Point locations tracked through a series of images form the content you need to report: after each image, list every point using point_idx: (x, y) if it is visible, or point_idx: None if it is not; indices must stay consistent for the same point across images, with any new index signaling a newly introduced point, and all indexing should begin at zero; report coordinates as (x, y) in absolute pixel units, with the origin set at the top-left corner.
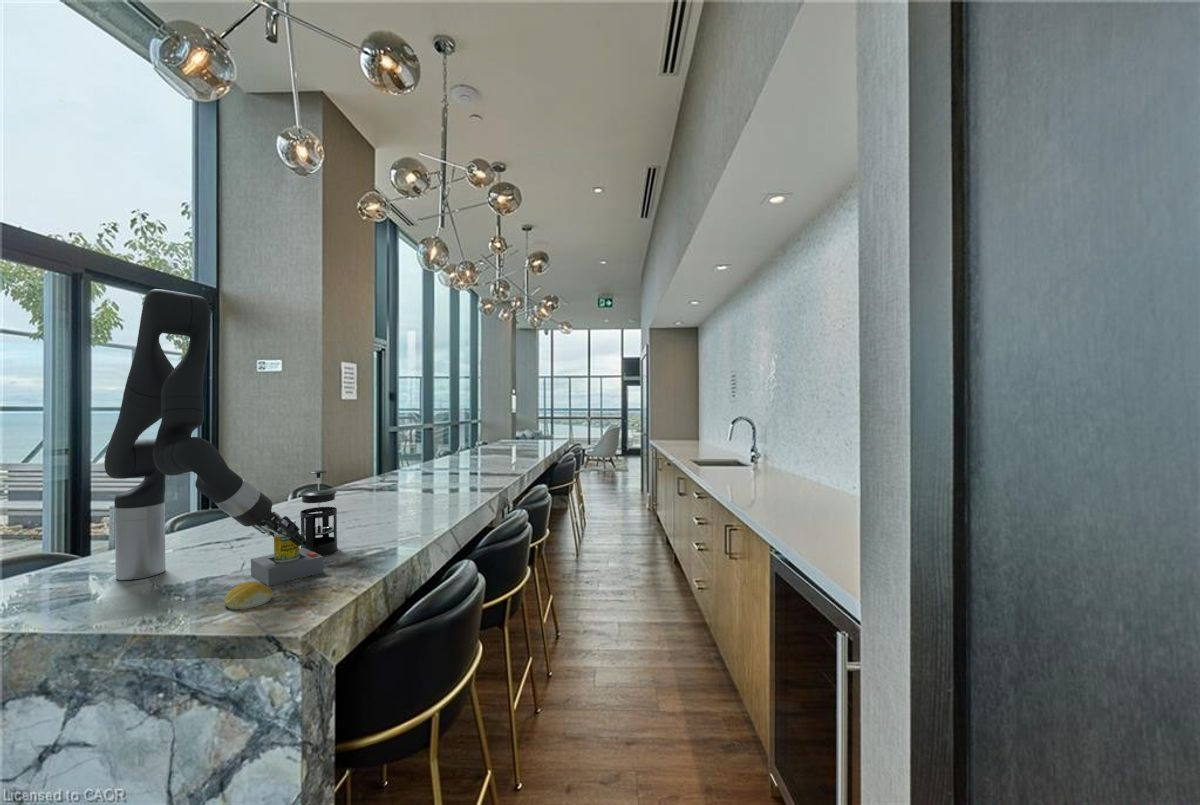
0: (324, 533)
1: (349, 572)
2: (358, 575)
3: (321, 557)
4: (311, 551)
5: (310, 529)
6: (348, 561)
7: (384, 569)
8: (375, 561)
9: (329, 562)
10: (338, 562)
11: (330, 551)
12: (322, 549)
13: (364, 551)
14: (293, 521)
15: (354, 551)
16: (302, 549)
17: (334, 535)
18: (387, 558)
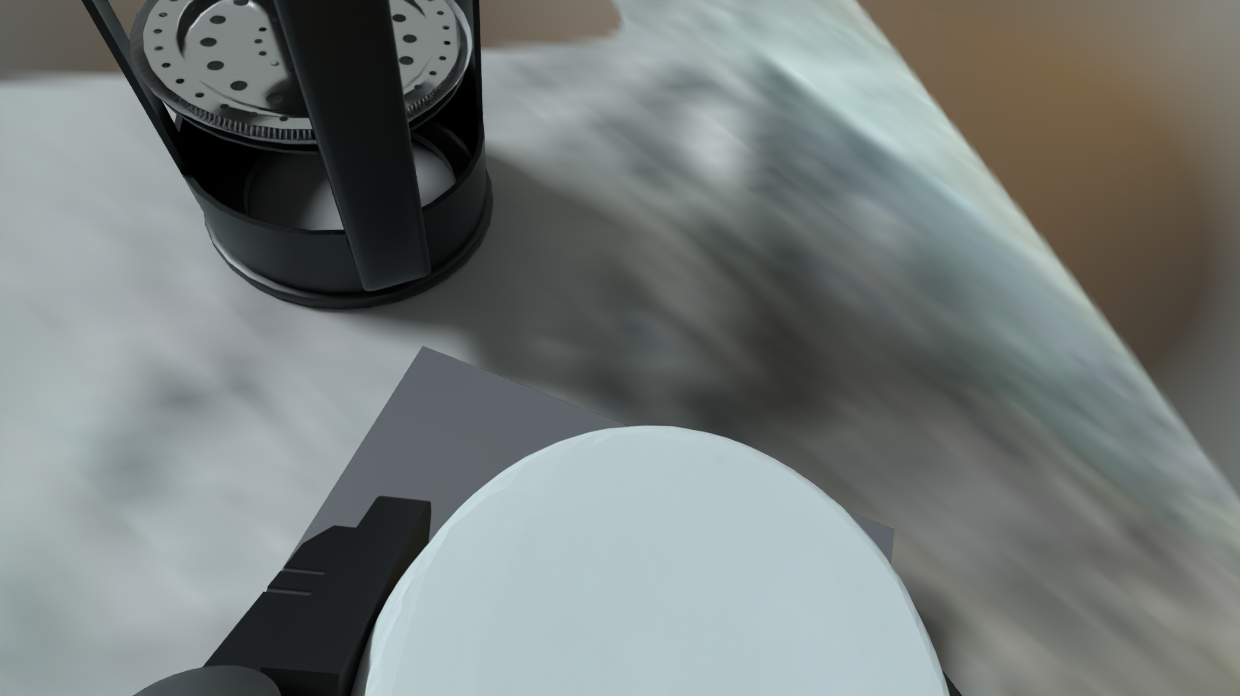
0: (445, 95)
1: (981, 495)
2: (1098, 528)
3: (888, 546)
4: (619, 426)
5: (389, 133)
6: (744, 307)
7: (1103, 380)
8: (903, 272)
9: (633, 354)
10: (697, 339)
11: (482, 201)
12: (457, 224)
13: (657, 138)
14: (920, 632)
15: (593, 146)
16: (461, 395)
17: (480, 72)
18: (911, 216)
